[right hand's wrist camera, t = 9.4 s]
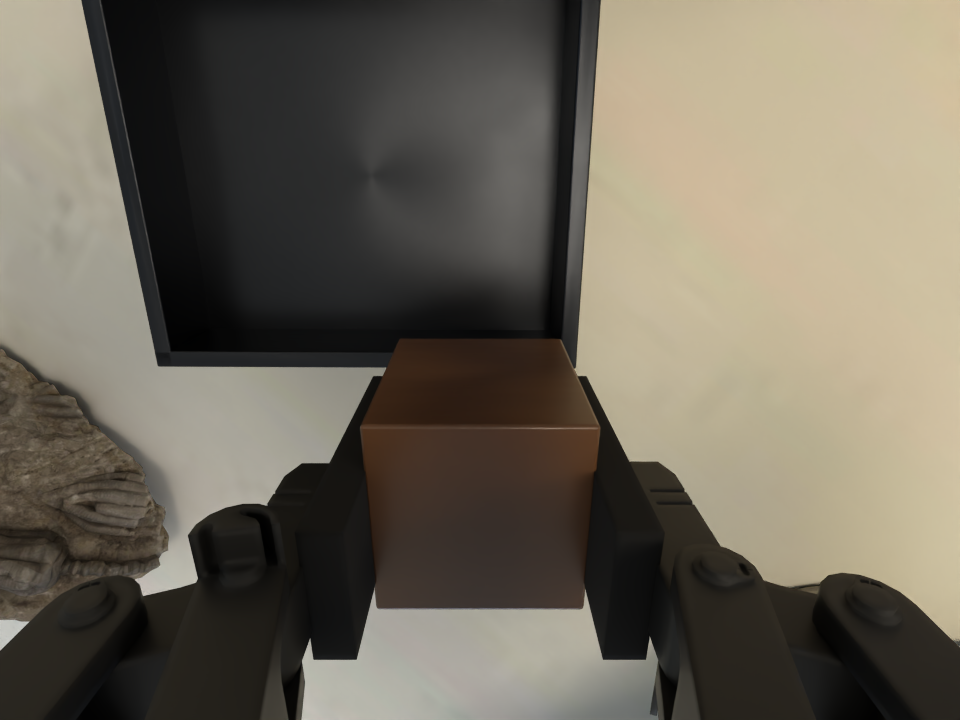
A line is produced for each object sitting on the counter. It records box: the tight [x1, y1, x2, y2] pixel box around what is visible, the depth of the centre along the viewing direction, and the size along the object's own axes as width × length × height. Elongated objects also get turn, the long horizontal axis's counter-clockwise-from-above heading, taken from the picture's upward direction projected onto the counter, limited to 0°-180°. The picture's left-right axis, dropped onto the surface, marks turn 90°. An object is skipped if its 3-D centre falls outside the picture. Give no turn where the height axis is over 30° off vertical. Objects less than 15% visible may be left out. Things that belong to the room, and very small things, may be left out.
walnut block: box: [360, 339, 600, 609], centre depth 13 cm, size 4×4×5 cm
